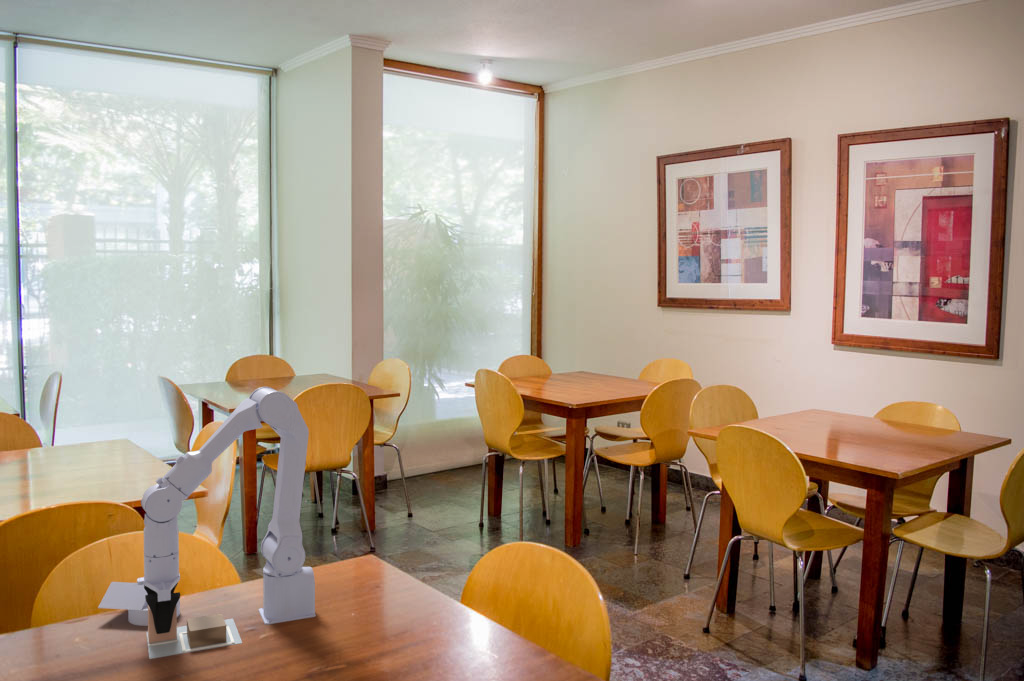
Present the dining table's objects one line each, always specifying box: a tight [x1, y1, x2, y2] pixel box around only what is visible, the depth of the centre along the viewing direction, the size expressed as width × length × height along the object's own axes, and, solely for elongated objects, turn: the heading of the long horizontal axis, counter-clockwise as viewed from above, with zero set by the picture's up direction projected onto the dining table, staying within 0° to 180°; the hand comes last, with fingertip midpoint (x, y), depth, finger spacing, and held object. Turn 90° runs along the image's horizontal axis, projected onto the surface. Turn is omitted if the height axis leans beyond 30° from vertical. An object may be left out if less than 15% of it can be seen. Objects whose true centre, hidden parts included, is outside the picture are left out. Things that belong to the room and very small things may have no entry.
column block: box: [147, 605, 178, 643], centre depth 145 cm, size 4×4×6 cm
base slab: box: [186, 613, 226, 648], centre depth 145 cm, size 6×6×3 cm
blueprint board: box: [145, 618, 243, 660], centre depth 145 cm, size 15×12×1 cm
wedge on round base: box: [97, 581, 181, 627], centre depth 155 cm, size 9×7×13 cm
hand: (162, 627), depth 145 cm, fingers closed on column block, 4 cm apart
